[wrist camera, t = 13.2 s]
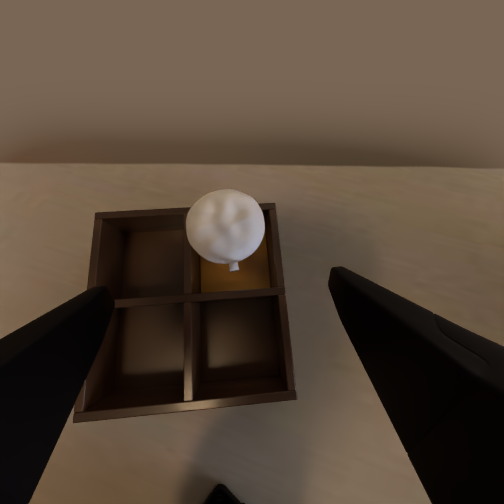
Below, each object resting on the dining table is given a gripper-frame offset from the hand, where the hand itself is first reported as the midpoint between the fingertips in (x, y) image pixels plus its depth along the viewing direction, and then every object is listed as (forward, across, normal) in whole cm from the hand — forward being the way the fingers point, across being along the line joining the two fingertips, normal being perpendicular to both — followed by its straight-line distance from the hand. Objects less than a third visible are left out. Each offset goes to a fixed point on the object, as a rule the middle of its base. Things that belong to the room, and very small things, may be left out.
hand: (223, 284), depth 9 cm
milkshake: (+10, 0, +6) cm, 12 cm away
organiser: (+8, +3, +8) cm, 12 cm away
